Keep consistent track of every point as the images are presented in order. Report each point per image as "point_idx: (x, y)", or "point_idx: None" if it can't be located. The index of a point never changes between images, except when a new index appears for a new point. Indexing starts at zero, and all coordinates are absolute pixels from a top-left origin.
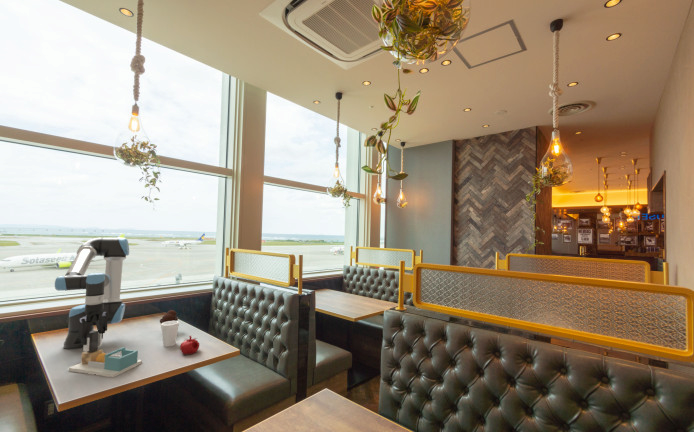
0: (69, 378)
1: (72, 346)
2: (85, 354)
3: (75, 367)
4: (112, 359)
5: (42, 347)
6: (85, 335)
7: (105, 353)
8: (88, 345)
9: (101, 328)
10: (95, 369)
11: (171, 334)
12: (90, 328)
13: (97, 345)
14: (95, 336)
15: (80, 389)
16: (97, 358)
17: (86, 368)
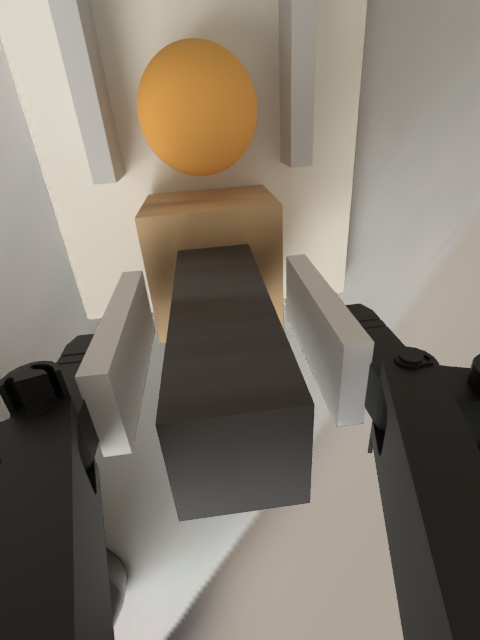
0: (443, 135)
1: (108, 567)
2: (281, 279)
3: (329, 252)
4: None
5: (166, 632)
6: (445, 401)
7: (171, 85)
8: (315, 282)
9: (47, 484)
10: (329, 3)
11: None
12: (435, 543)
13: (179, 273)
14: (223, 348)
15: None
16: (256, 110)
17: (328, 135)
